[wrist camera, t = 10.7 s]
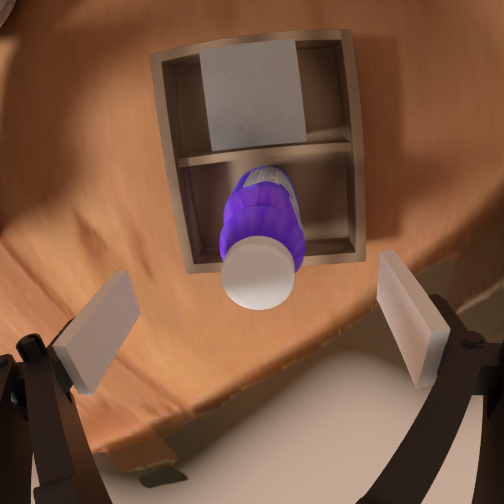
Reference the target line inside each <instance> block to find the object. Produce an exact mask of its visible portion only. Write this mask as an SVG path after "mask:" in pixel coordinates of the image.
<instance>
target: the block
mask: <svg viewBox="0 0 504 504" xmlns="http://www.w3.org/2000/svg"><path fill="white" fill-rule="evenodd" d="M199 55H200V63H201V71H202V79H203V87H204V95H205V102H206V110H207V118H208V125H209V132H210V140H211V147H212V151H219V150H227V149H235V148H243V147H252V146H262V145H272V144H283V143H296V142H307V138H306V127H305V118H304V108H303V100H302V91H301V83H300V75H299V67H298V60H297V52H296V45H295V39H283V40H272V41H262V42H253V43H245V44H238V45H231V46H225V47H218V48H213V49H207V50H202V51H199Z"/></svg>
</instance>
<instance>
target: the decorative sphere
mask: <svg viewBox="0 0 504 504" xmlns="http://www.w3.org/2000/svg"><path fill="white" fill-rule="evenodd" d="M15 2H16V0H0V28H1V26H2V25H3V24H4V22H5V21H6V19H7V18H8V16H9V14H10V13H11V11H12V9H13V7H14V5H15Z"/></svg>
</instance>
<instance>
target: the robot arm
mask: <svg viewBox="0 0 504 504" xmlns="http://www.w3.org/2000/svg"><path fill="white" fill-rule="evenodd" d="M377 300H378V302H379V305H380V307H381V309H382V311H383V313H384V315H385V317H386V320H387V322H388V324H389V326H390V328H391V331H392V333H393V335H394V337H395V340H396V342H397V344H398V347H399V349H400V351H401V354H402V356H403V358H404V361H405V363H406V365H407V368H408V370H409V373H410V375H411V378H412V380H413V383H414V385H415V388H416V389H418V388H423V387H428V386H433V387H432V389H431V392H430V393H429V395H428V397H427V399H426V401H425V403H424V405H423V407H422V408H421V410H420V412H419V414H418V416H417V417H416V419H415V421H414V423H413V424H412V426H411V428H410V430H409V431H408V433H407V434H406V436H405V438H404V440H403V441H402V443H401V444H400V446H399V447H398V449H397V451H396V452H395V454H394V455H393V457H392V458H391V460H390V461H389V463H388V464H387V465H386V467H385V468H384V470H383V471H382V473H381V474H380V476H379V477H378V478H377V480H376V481H375V482H374V484H373V485H372V487H371V488H370V489H369V491H368V492H367V493H366V494H365V495H364V496H363V497H362V498H360V499H359V500H358V501H357V503H356V504H421V502H422V501H423V499H424V497H425V495H426V494H427V492H428V490H429V488H430V487H431V485H432V483H433V481H434V479H435V478H436V476H437V474H438V472H439V470H440V468H441V466H442V464H443V462H444V460H445V458H446V456H447V454H448V452H449V449H450V447H451V445H452V443H453V441H454V439H455V436H456V434H457V432H458V429H459V427H460V425H461V422H462V420H463V417H464V415H465V412H466V410H467V406H468V404H469V401H470V399H471V396H472V395H483V418H482V433H481V445H480V455H479V462H478V470H477V476H476V483H475V488H474V494H473V499H472V504H504V341H503V343H487V342H486V340H485V338H484V337H483V336H482V335H480V334H479V333H476V332H473V331H468V330H467V329H466V327H465V326H464V324H463V323H462V321H461V320H460V319H459V317H458V316H457V315H456V314H455V312H454V311H453V309H452V308H451V306H450V305H449V304H448V302H447V301H446V300H445V299H444V298H442V297H440V296H439V295H437V294H433V295H427V294H426V293H425V291H424V290H423V288H422V287H421V286H420V284H419V283H418V281H417V280H416V279H415V277H414V276H413V275H412V273H411V272H410V270H409V269H408V268H407V266H406V265H405V264H404V263H403V261H402V260H401V259H400V257H399V256H398V255H397V253H396V252H395V251H394V250H387V251H380V256H379V274H378V289H377ZM140 314H141V313H140V309H139V306H138V303H137V300H136V297H135V294H134V291H133V287H132V284H131V281H130V278H129V274H128V271H116V272H115V273H114V274H113V275H112V276H111V277H110V278H109V279H108V280H107V282H106V283H105V284H104V285H103V286H102V287H101V288H100V289H99V290H98V292H97V293H96V294H95V295H94V296H93V297H92V298H91V300H90V301H89V302H88V303H87V304H86V305H85V307H84V308H83V309H82V310H81V311H80V312H79V314H78V315H77V316H76V317H74V318H73V319H71V320H70V321H69V322H68V323H67V324H66V325H65V326H64V327H63V330H61V331H60V332H59V335H57V336H56V337H55V338H54V339H53V341H52V342H51V343H50V344H49V346H48V347H47V348H46V347H45V345H44V343H43V341H42V339H41V337H40V335H39V334H29V335H27V336H25V337H23V338H22V339H21V340H19V342H18V343H17V345H16V349H17V350H18V352H19V354H20V356H21V358H22V359H23V361H24V362H17V363H16V362H15V360H14V358H13V356H12V355H10V354H5V355H1V356H0V504H31V473H32V471H31V470H32V456H33V454H34V459H35V464H36V469H37V474H38V479H39V483H40V486H39V487H36V488H34V490H33V494H34V499H35V504H113V503H112V501H111V499H110V497H109V495H108V492H107V490H106V488H105V485H104V483H103V481H102V478H101V476H100V474H99V471H98V469H97V466H96V464H95V461H94V458H93V456H92V453H91V450H90V448H89V445H88V442H87V439H86V436H85V433H84V430H83V427H82V424H81V421H80V418H79V414H78V411H77V408H76V404H75V401H74V397H73V395H72V393H71V391H70V388H71V387H72V385H74V386H75V388H76V390H77V391H78V393H79V394H84V395H90V396H92V395H93V393H94V392H95V390H96V388H97V386H98V384H99V383H100V381H101V379H102V377H103V376H104V374H105V372H106V370H107V369H108V367H109V365H110V364H111V362H112V360H113V358H114V357H115V355H116V353H117V352H118V350H119V348H120V347H121V345H122V343H123V342H124V340H125V338H126V337H127V335H128V333H129V332H130V330H131V328H132V327H133V325H134V323H135V322H136V320H137V319H138V317H139V315H140ZM437 375H438V377H437ZM436 377H437V379H436ZM435 380H436V381H435ZM11 399H12V400H13V403H12V400H11Z"/></svg>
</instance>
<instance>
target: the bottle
mask: <svg viewBox="0 0 504 504" xmlns="http://www.w3.org/2000/svg"><path fill="white" fill-rule="evenodd" d="M299 214H300V211H299V202H298V198H297V194H296V191H295V188H294V186H293V184H292V181H291V180H290V178H289V176H288V175H287V174H286V173H285V172H284V171H283V170H282V169H280V168H278V167H276V166H261V167H258V168H255V169H252V170H251V171H249V172H247V173H245V174H244V175H243V176H242V177H241V178H240V180H239V182H238V183H237V185H236V187H235V188H234V190H233V192H232V194H231V195H230V197H229V198H228V200H227V202H226V205H225V208H224V219H223V220H224V227H223V228H222V231H221V234H220V253H221V257H222V260H223V266H222V270H221V282H222V286H223V288H224V290H225V292H226V293H227V294H228V296H229V297H230V298H231V299H232V300H233V301H234V302H236V303H237V304H239V305H241V306H243V307H246V308H249V309H254V310H265V309H270V308H273V307H275V306H277V305H279V304H281V303H282V302H283V301H284V300H286V299H287V297H288V296H289V295H290V293H291V292H292V289H293V286H294V283H295V273H296V272H297V271H298V269H299V268H300V266H301V264H302V262H303V259H304V253H305V238H304V231H303V226H302V223H301V219H300V215H299Z"/></svg>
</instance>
